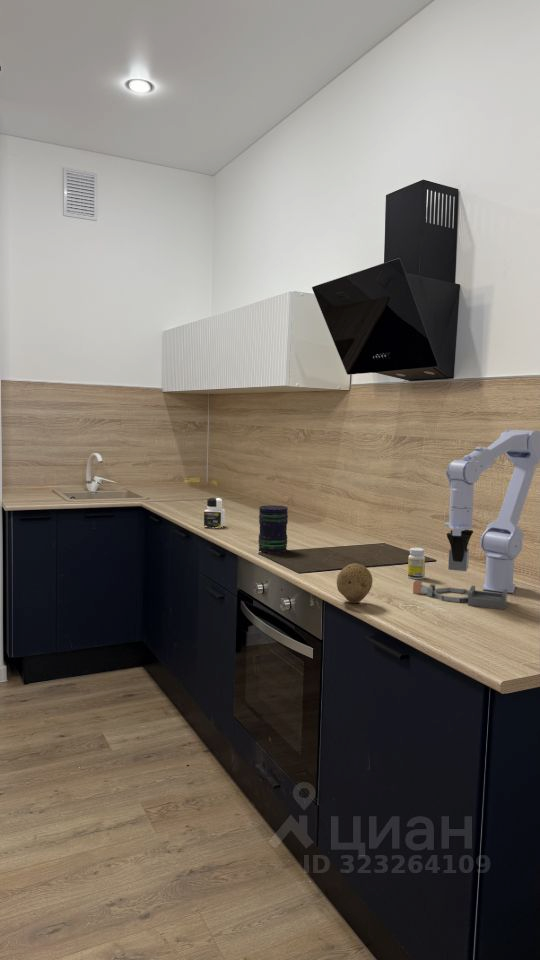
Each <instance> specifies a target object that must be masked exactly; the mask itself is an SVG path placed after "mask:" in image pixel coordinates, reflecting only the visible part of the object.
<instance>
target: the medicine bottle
mask: <svg viewBox="0 0 540 960" xmlns="http://www.w3.org/2000/svg"><path fill="white" fill-rule="evenodd" d="M206 501H207V502H206V508H207V509H204V511H203V527H204V526H207V527H218V528H221V527H222V528H224V527H225V526H224V525H225V523H226V522H225V521H226V519H225V518H226V514H225V513H226V510H225V508H223V499H222V498H219V497H210V498H207V500H206ZM223 526H224V527H223ZM222 528H221V529H222Z"/></svg>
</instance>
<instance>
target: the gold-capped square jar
mask: <svg viewBox="0 0 540 960" xmlns="http://www.w3.org/2000/svg"><path fill="white" fill-rule="evenodd" d="M469 557H470V549H469V548H467V549H465V551H464V556H463V560H462V562H457V561H453V557H452V550H451V548H450V549H449V550H448V565H447V566H448V571H449V570H450V571H460V572H467V570H468V569H469V560H470V559H469Z"/></svg>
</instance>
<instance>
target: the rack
mask: <svg viewBox="0 0 540 960" xmlns="http://www.w3.org/2000/svg"><path fill="white" fill-rule="evenodd" d="M467 597H468V602H467V606H472V607H482V608H488V609H489V608H490V609H498V610H505V609H506V606H507V602H508V592H507V589H503V592H496V591H487V590H476V585H471V586H470V589H469V592H468V595H467Z"/></svg>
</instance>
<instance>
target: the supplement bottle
mask: <svg viewBox="0 0 540 960" xmlns="http://www.w3.org/2000/svg"><path fill="white" fill-rule="evenodd" d="M407 562H408V563H407V578H408V579H412V580H423V579H425V572H426V571H425V569H426V563H425V562H426V556H425V550H424V548H422V547H421V548H420V547H410V548H409V555H408V560H407Z"/></svg>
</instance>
